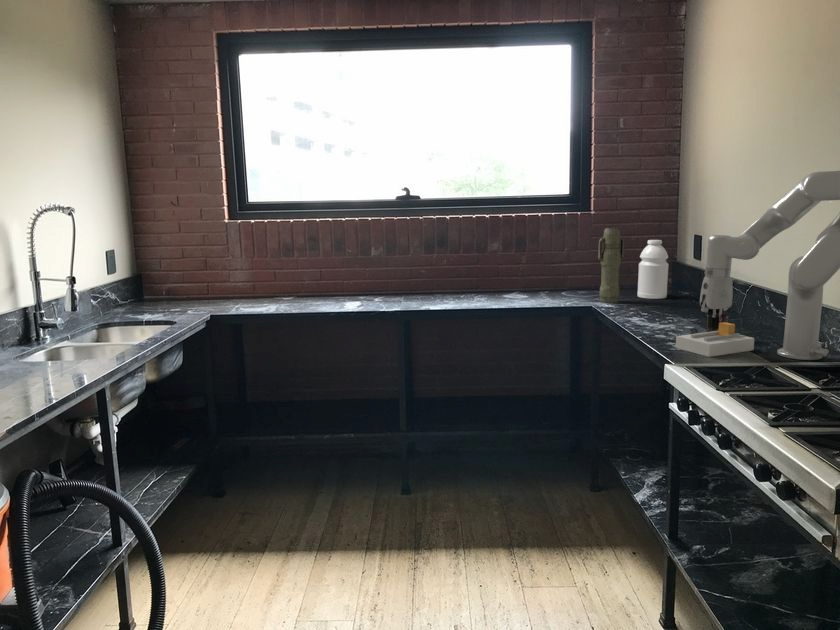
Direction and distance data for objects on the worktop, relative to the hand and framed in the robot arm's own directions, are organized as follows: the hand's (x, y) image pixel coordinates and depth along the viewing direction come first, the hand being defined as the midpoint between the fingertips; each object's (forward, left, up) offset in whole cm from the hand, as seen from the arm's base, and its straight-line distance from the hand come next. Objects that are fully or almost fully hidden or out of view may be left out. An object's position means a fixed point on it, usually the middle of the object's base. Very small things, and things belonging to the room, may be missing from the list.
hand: (712, 328), depth 223 cm
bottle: (+94, -63, -7) cm, 114 cm away
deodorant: (+14, -17, -7) cm, 23 cm away
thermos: (+93, -35, -7) cm, 99 cm away
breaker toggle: (0, -6, -3) cm, 6 cm away
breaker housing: (0, -1, -7) cm, 7 cm away
